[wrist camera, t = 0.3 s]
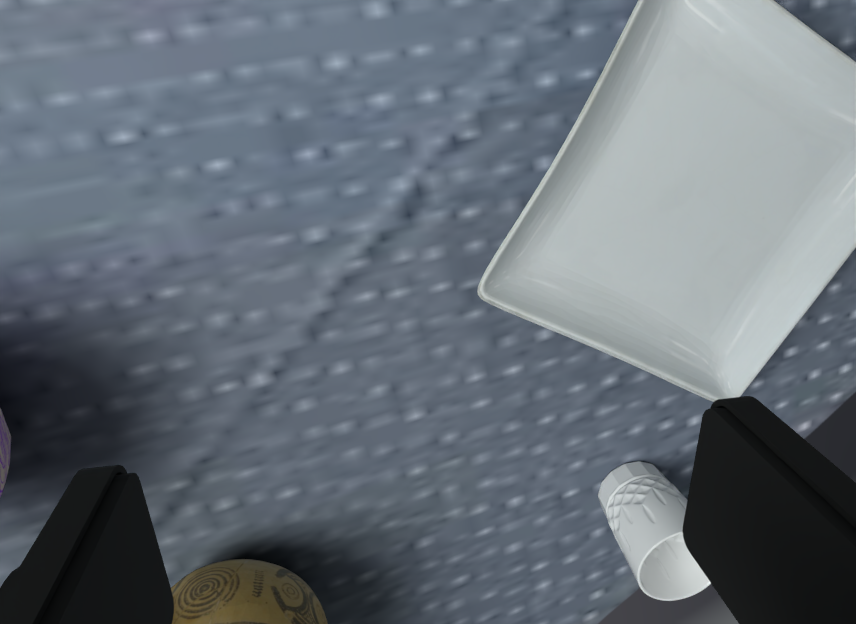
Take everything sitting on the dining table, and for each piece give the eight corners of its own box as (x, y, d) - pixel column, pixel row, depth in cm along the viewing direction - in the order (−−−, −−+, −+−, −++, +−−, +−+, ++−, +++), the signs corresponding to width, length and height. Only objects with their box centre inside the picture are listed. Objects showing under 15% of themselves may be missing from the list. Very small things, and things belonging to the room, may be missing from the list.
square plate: (462, 281, 49) (472, 299, 46) (653, -65, 41) (682, -75, 37) (711, 392, 57) (735, 414, 54) (911, 121, 49) (956, 126, 45)
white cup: (601, 454, 58) (651, 530, 49) (677, 455, 59) (739, 529, 50) (584, 519, 61) (627, 602, 52) (656, 519, 62) (711, 599, 53)
